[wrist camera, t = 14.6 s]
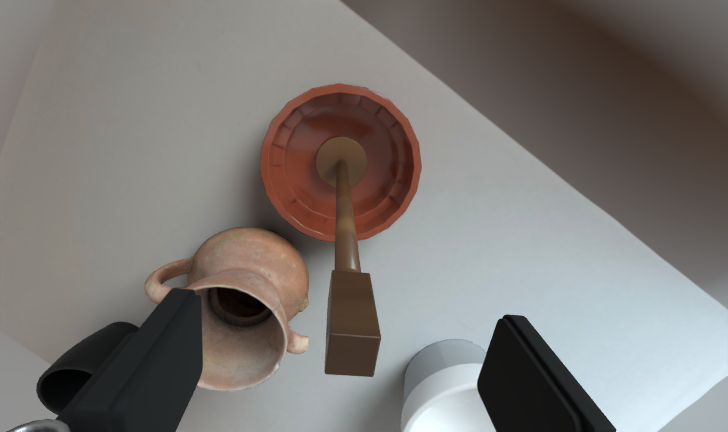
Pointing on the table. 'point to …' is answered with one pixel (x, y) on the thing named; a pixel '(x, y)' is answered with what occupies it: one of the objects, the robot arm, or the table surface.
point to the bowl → (445, 390)
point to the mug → (79, 366)
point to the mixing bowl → (305, 136)
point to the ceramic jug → (242, 304)
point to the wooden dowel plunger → (348, 268)
